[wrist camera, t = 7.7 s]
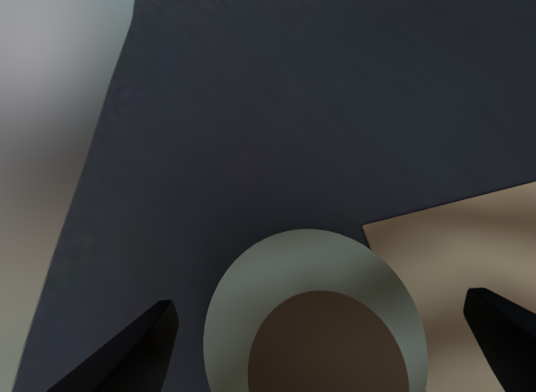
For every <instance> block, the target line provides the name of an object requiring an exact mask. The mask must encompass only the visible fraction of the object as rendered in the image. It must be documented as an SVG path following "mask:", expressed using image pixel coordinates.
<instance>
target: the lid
mask: <svg viewBox="0 0 536 392" xmlns="http://www.w3.org/2000/svg"><path fill="white" fill-rule="evenodd" d="M203 347H204V362H205V370H206V374H207V379H208V383H209V387H210V390H211V392H425V388H426V384H427V372H428V354H427V344H426V338H425V332H424V329H423V325H422V322H421V318H420V315H419V313H418V310H417V308H416V305H415V303H414V301H413V299H412V297H411V295H410V294H409V292H408V290H407V288H406V287H405V285H404V284H403V282H402V281H401V280H400V278H399V277H398V275H397V274H396V273H395V272H394V271H393V270H392V268H391V267H390V266H389V265H388V264H387V263H386V262H385V261H384V260H383V259H381V258H380V257H379V256H378V255H377V254H376V253H374V252H373V251H371V250H370V249H369V248H367V247H366V246H364V245H362V244H361V243H359V242H357V241H355V240H353V239H351V238H348V237H346V236H343V235H341V234H337V233H333V232H330V231H325V230H317V229H299V230H291V231H286V232H282V233H278V234H275V235H273V236H270V237H268V238H265V239H263V240H262V241H260V242H258V243H256V244H255V245H253V246H252V247H250V248H249V249H248V250H246V251H245V252H244V253H243V254H242V255H241V256H240V257H238V258H237V259H236V260H235V261H234V263H233V264H232V265H231V266H230V267H229V269H228V270H227V271H226V273H225V274H224V276H223V277H222V279H221V280H220V282H219V284H218V286H217V288H216V290H215V292H214V294H213V297H212V300H211V302H210V305H209V308H208V312H207V317H206V321H205V328H204V338H203Z"/></svg>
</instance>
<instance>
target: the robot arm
mask: <svg viewBox="0 0 536 392" xmlns="http://www.w3.org/2000/svg"><path fill="white" fill-rule="evenodd" d="M463 314H464V317H465V319H466V321H467V323H468V325H469V327H470V329H471V331H472V333H473V335H474V337H475V339H476V341H477V343H478V345H479V347H480V349H481V351H482V353H483V354H484V356H485V358H486V360H487V362H488V364H489V366H490V368H491V370H492V371H493V373H494V375H495V376H496V378H497V380H498V381H499V383H500V384H501V386H502V388H503V389H504V391H505V392H536V314H535V313H533V312H532V311H530V310H528V309H526V308H524V307H522V306H520V305H518V304H516V303H514V302H512V301H510V300H508V299H506V298H504V297H502V296H500V295H499V294H497V293H495V292H493V291H491V290H489V289H487V288H483V287H478V288H469V289H468V290H467V293H466V298H465V302H464V307H463ZM178 326H179V319H178V315H177V312H176V308H175V305H174V302H173V301H172V300H161V301H158V302H157V303H156V304H154V305H153V306H152V307H151V308H149V309H148V310H147V311H146V312H144V313H143V314H142V315H141V316H140V317H138V318H137V319H136V320H135V321H133V322H132V323H131V324H130V325H128V326H127V327H126V328H125V329H123V330H122V331H121V332H120V333H118V334H117V335H116V336H115V337H113V338H112V339H111V340H110V341H108V342H107V343H106V344H105V345H103V346H102V347H101V348H100V349H98V350H97V351H96V352H95V353H93V354H92V355H91V356H90V357H88V358H87V359H86V360H85V361H83V362H82V363H81V364H80V365H78V366H77V367H76V368H75V369H73V370H72V371H71V372H70V373H69V374H67V375H66V376H65V377H64V378H62V379H61V380H60V381H59V382H57V383H56V384H55V385H54V386H52V387H51V388H50V389H49V390H47V392H161V389H162V386H163V383H164V380H165V377H166V374H167V370H168V367H169V363H170V359H171V355H172V351H173V347H174V343H175V339H176V335H177V331H178Z"/></svg>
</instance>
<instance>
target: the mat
mask: <svg viewBox="0 0 536 392" xmlns="http://www.w3.org/2000/svg"><path fill="white" fill-rule="evenodd" d="M362 229H363V232H364V234H365V237H366V240H367V242H368V245H369V247H370V250H371V251H373V252H374V253H376V254H377V255H378V256H379V257H380V258H381V259H383V260H384V261H385V262H386V263H387V264H388V265H389V266H390V267H391V268H392V270H393V271H394V272H395V273H396V274H397V275H398V277H399V278H400V280H401V281H402V282H403V284H404V285H405V287H406V288H407V290H408V292H409V294H410V295H411V297H412V299H413V301H414V303H415V305H416V308H417V310H418V313H419V315H420V318H421V322H422V325H423V329H424V332H425V338H426V344H427V354H428V372H427V384H426V388H425V392H505V391H504V389H503V388H502V386H501V384H500V383H499V381H498V380H497V378H496V376H495V375H494V373H493V371H492V370H491V368H490V366H489V364H488V362H487V360H486V358H485V356H484V354H483V353H482V351H481V349H480V347H479V345H478V343H477V341H476V339H475V337H474V335H473V333H472V331H471V329H470V327H469V325H468V323H467V321H466V319H465V317H464V314H463V307H464V302H465V298H466V293H467V290H468V289H469V288H478V287H483V288H487V289H489V290H491V291H493V292H495V293H497V294H499V295H500V296H502V297H504V298H506V299H508V300H510V301H512V302H514V303H516V304H518V305H520V306H522V307H524V308H526V309H528V310H530V311H532V312H533V313H535V314H536V182H532V183H529V184H525V185H521V186H517V187H513V188H509V189H505V190H501V191H497V192H493V193H489V194H485V195H481V196H477V197H473V198H469V199H465V200H461V201H457V202H454V203H450V204H446V205H442V206H438V207H434V208H430V209H426V210H422V211H418V212H414V213H410V214H406V215H402V216H398V217H394V218H390V219H386V220H382V221H378V222H375V223H371V224H367V225H363V226H362Z"/></svg>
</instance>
